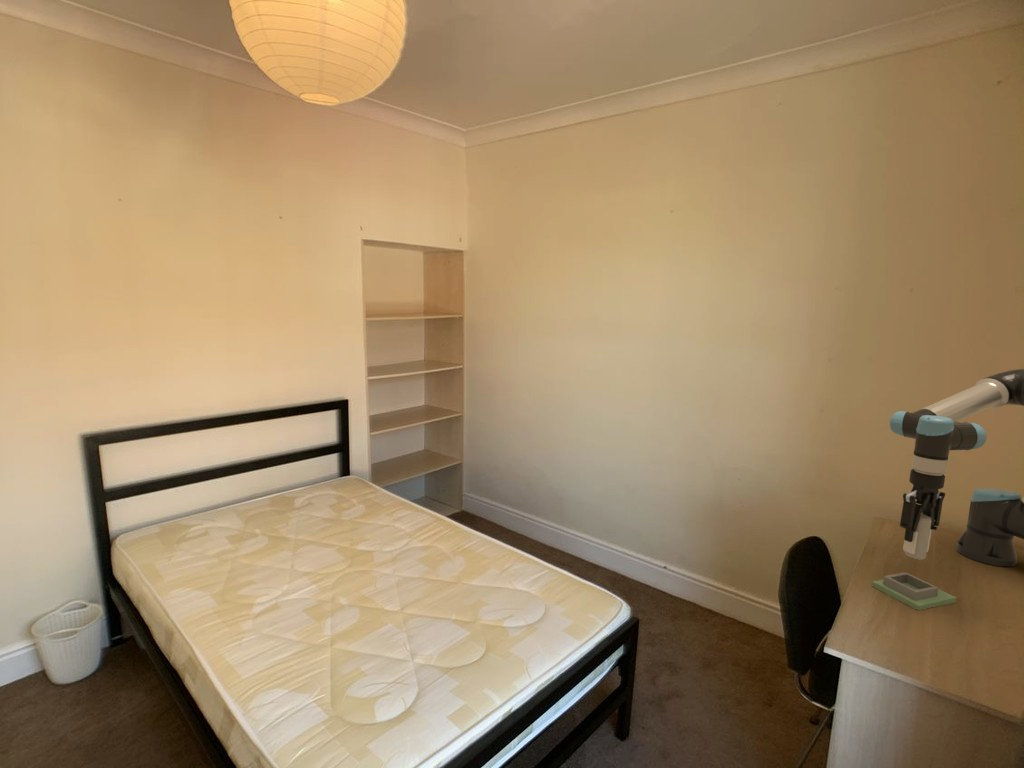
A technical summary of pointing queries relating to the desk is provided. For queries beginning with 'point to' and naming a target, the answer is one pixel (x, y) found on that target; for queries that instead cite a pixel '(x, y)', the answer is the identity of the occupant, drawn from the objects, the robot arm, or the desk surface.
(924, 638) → the desk surface
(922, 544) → the beverage can
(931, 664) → the desk surface
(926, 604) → the green tray with frame
